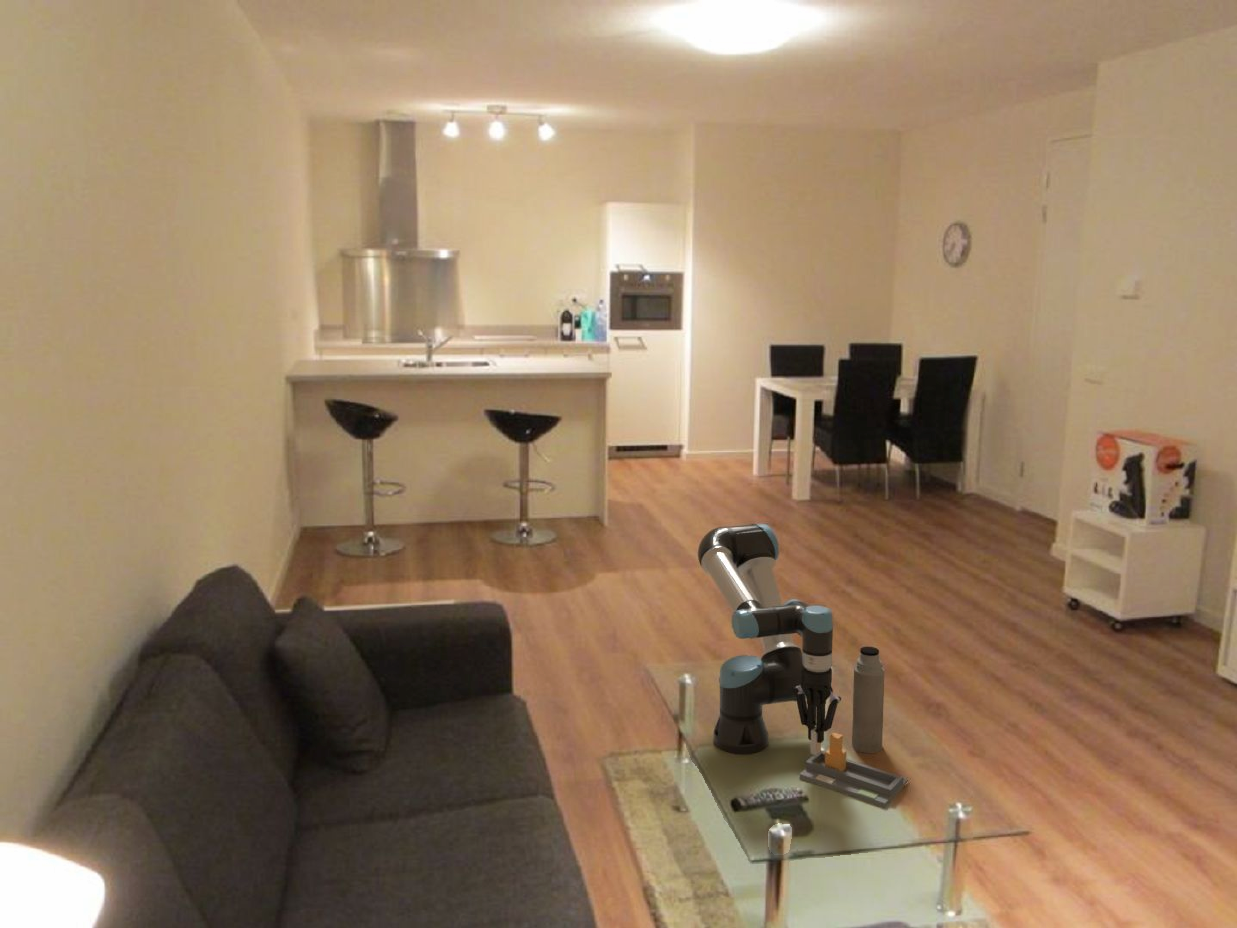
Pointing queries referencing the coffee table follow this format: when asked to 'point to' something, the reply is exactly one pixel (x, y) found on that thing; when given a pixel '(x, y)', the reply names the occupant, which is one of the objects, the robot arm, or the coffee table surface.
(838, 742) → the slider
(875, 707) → the thermos bottle
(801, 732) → the coffee table surface
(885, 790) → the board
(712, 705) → the coffee table surface
